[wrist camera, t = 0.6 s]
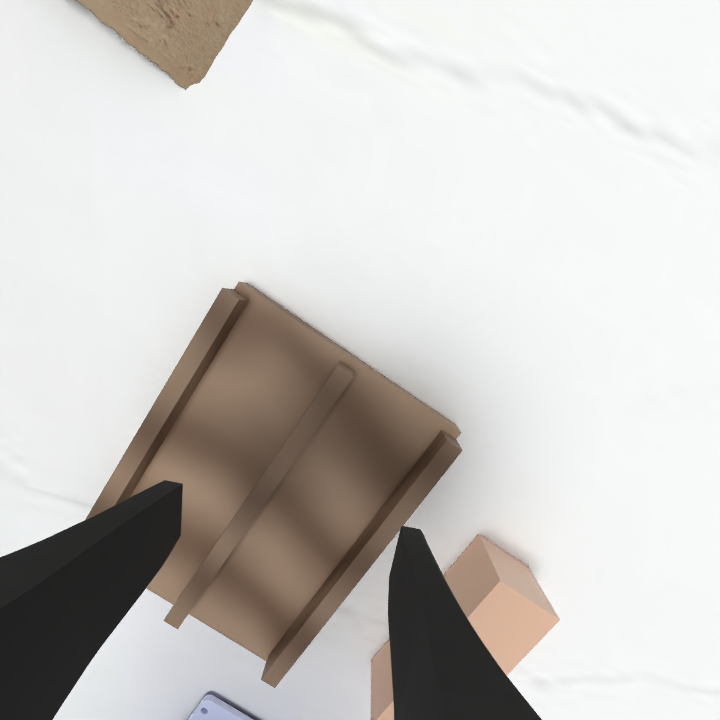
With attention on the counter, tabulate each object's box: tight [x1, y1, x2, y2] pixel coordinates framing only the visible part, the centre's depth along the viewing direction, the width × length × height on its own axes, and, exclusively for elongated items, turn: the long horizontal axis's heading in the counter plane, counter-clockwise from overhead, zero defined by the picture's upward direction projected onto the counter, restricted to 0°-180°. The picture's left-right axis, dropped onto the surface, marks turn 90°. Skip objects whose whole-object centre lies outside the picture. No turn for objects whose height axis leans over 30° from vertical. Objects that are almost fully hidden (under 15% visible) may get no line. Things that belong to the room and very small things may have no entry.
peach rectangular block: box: [371, 534, 560, 720], centre depth 21 cm, size 12×4×4 cm, turn 145°
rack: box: [86, 282, 462, 688], centre depth 21 cm, size 20×15×3 cm
